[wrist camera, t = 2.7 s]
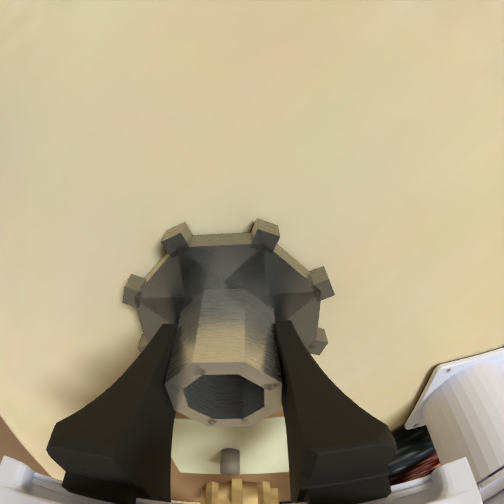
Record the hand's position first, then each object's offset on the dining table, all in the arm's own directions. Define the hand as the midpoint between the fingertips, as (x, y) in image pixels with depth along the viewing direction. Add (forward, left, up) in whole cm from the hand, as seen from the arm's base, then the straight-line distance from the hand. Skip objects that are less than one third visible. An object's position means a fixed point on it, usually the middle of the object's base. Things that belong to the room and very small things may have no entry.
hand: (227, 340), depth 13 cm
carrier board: (+2, +18, -2) cm, 18 cm away
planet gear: (0, 0, -2) cm, 2 cm away
